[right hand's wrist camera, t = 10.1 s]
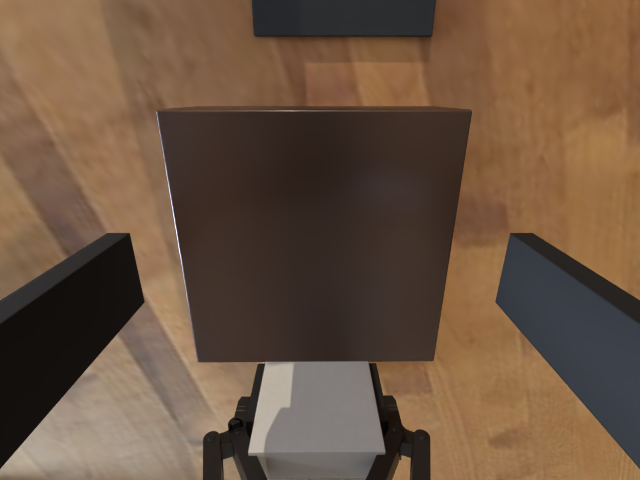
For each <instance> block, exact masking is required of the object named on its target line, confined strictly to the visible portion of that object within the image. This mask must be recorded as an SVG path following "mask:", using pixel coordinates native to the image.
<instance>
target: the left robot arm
mask: <svg viewBox="0 0 640 480" xmlns="http://www.w3.org/2000/svg"><path fill="white" fill-rule="evenodd" d="M264 368H265V364H258V366H257V371H256V375H255V380H254V384H253V389H252V393H251V397H241V398H240V400H239V401H238V405H237V409H236V412H235V416H234V418H232V419H231V420H230V421H229V422H228V429H229V430H228V431H226V432H224V433H220V434H219V433H218V432H216V431H211V432H209V433H207V434H206V435H205V437H204V439H203V480H224V471H223V459H226V458H229V457H232V456H233V459H234V461H235V464H236V467H237V469H238V472H239V475H240V477H241V480H268V479H267V477H266V475H265V473H264V470H263V468H262V466H261V464H260V461H259V459H258V457H257V456H249V455H248V451H249V446H250V440H251V435H252V430H253V425H254V420H255V415H256V409H257V404H258V399H259V394H260V389H261V384H262V378H263V373H264ZM369 368H370V373H371V378H372V384H373V389H374V394H375V399H376V404H377V410H378V415H379V420H380V425H381V430H382V436H383V441H384V446H385V451H386V452H385V455H376V458H375V460H374V462H373V464H372V467H371V469H370V471H369V473H368V476H367V478H366V480H392V478H393V476H394V473H395V470H396V468H397V465H398V462H399V460H401V456H402V455H403V456H406V457H410V458H411V466H410V480H430V435H429V434H428V433H427V432H426V431H424V430H416V431H415V432H412V431H409V430H407V429H405V428H404V427H403V425H402V423H401V419H400V416H399V412H398V408H397V404H396V400H395V399H394V397H393V396H383V393H382V388H381V384H380V379H379V375H378V370H377V366H376V363H369Z"/></svg>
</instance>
